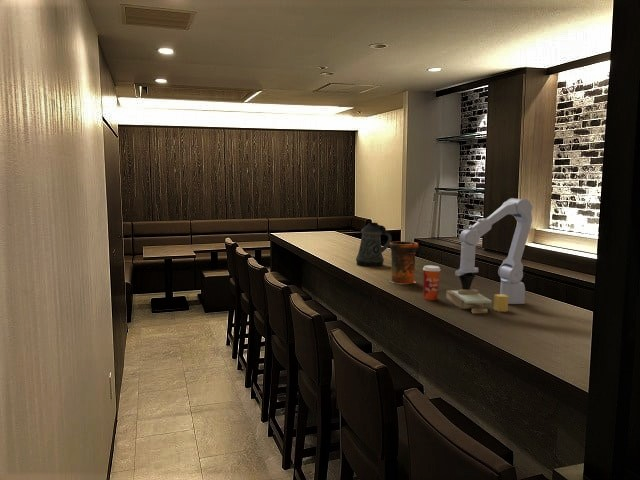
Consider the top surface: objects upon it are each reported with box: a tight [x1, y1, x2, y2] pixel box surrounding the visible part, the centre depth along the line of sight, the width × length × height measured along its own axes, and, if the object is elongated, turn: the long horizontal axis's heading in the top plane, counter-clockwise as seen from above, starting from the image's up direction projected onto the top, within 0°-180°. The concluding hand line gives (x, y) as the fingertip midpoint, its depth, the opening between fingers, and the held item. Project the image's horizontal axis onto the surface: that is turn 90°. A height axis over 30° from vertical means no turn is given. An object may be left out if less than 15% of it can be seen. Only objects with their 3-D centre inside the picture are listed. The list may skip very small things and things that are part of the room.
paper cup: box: [422, 265, 442, 301], centre depth 228 cm, size 8×8×14 cm
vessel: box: [388, 241, 419, 285], centre depth 262 cm, size 14×14×20 cm
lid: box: [450, 289, 493, 304], centre depth 215 cm, size 10×18×3 cm, turn 6°
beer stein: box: [355, 222, 392, 268], centre depth 313 cm, size 16×19×25 cm
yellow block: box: [493, 293, 509, 312], centre depth 211 cm, size 4×4×6 cm
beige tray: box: [445, 290, 488, 314], centre depth 217 cm, size 10×25×4 cm, turn 6°
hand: (465, 290), depth 220 cm, fingers closed
